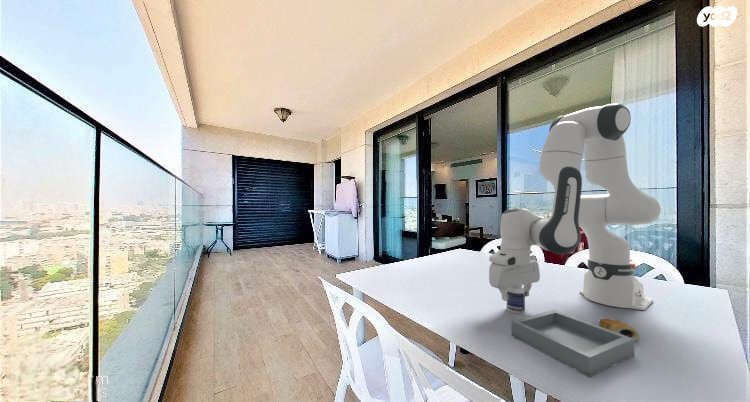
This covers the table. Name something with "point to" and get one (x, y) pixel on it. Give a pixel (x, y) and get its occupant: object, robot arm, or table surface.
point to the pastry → (619, 328)
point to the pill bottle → (516, 299)
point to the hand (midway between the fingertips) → (515, 298)
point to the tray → (573, 341)
